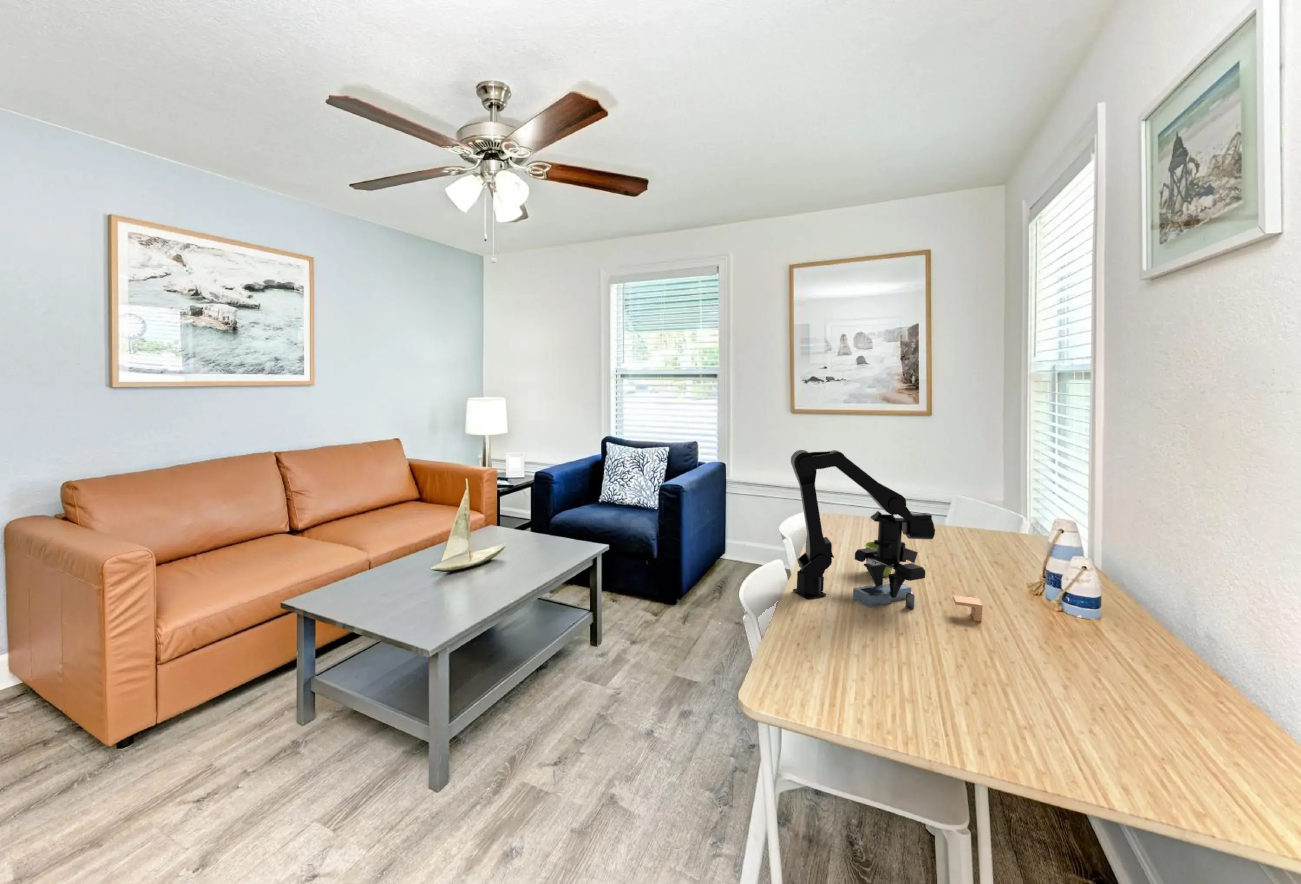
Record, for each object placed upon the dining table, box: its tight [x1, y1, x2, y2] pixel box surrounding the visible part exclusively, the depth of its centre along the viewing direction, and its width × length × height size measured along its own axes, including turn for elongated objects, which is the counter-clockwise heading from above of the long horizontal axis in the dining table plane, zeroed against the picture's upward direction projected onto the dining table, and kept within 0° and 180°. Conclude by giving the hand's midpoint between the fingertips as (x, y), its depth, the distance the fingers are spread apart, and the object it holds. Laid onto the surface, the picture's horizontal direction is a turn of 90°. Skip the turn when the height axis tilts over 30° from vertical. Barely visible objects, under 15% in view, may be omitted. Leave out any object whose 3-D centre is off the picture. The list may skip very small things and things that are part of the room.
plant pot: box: [864, 541, 893, 578], centre depth 159 cm, size 9×9×9 cm
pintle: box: [905, 591, 916, 610], centre depth 134 cm, size 2×2×4 cm
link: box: [852, 583, 912, 608], centre depth 139 cm, size 15×6×3 cm, turn 113°
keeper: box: [952, 594, 984, 622], centre depth 129 cm, size 6×4×4 cm
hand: (886, 594), depth 140 cm, fingers closed on link, 4 cm apart
